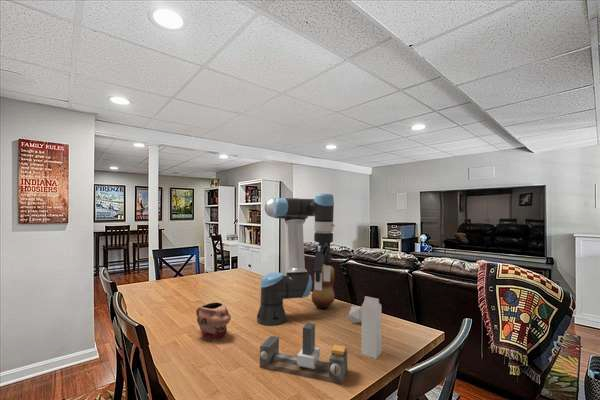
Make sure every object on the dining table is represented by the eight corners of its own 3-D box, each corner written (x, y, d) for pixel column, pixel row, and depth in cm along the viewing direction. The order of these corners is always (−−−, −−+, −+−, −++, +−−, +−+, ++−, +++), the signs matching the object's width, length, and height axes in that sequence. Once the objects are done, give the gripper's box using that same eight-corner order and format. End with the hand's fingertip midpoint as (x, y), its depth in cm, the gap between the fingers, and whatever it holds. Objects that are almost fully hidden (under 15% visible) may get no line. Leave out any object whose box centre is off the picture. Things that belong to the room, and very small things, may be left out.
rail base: (258, 367, 102) (259, 346, 102) (270, 355, 111) (270, 335, 111) (342, 385, 92) (342, 361, 92) (347, 370, 101) (347, 348, 101)
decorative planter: (184, 337, 126) (185, 305, 127) (204, 327, 137) (204, 297, 138) (219, 346, 118) (220, 312, 118) (238, 335, 129) (238, 303, 129)
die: (361, 328, 140) (370, 310, 143) (346, 318, 141) (355, 301, 145) (358, 328, 147) (366, 311, 151) (343, 318, 149) (352, 302, 152)
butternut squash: (328, 313, 159) (329, 267, 160) (307, 308, 165) (308, 265, 167) (338, 306, 171) (338, 264, 172) (318, 302, 177) (318, 262, 179)
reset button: (331, 361, 96) (331, 349, 97) (334, 356, 100) (334, 344, 100) (343, 364, 95) (343, 351, 95) (345, 358, 99) (345, 346, 99)
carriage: (296, 367, 98) (297, 328, 99) (304, 356, 106) (304, 320, 106) (313, 371, 96) (313, 331, 97) (319, 359, 104) (320, 322, 104)
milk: (367, 348, 117) (367, 294, 119) (381, 353, 114) (381, 297, 115) (361, 354, 113) (361, 297, 114) (376, 359, 109) (375, 300, 110)
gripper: (325, 235, 101) (324, 295, 101) (339, 230, 125) (338, 278, 125) (305, 234, 104) (304, 292, 103) (322, 229, 127) (321, 277, 127)
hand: (322, 285), depth 114 cm, fingers open, 13 cm apart
